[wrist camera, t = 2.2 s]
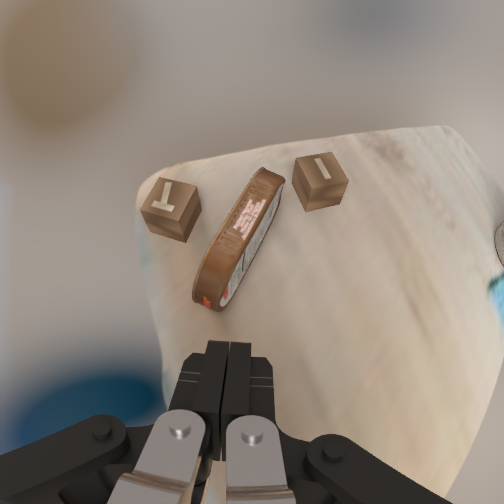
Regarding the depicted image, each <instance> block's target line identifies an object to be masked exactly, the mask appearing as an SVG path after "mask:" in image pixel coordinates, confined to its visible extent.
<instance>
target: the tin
mask: <svg viewBox="0 0 504 504" xmlns="http://www.w3.org/2000/svg"><path fill="white" fill-rule="evenodd" d="M284 183H285V178H284V177H282V176H280V175H278V174H276V173H273V172H271V171H268V170H266V169H265V168H264V167H261V168H260V169H259V170H258V171H257V172H256V173H255V174H254V175H253V177H252V178H251V180H250V181H249V183H248V185H247V186H246V188H245V189H244V191H243V192H242V194H241V196H240V197H239V199H238V200H237V202H236V204H235V205H234V207H233V208H232V210H231V212H230V213H229V215H228V216H227V218H226V220H225V221H224V223H223V224H222V226H221V228H220V229H219V231H218V232H217V234H216V236H215V237H214V239H213V241H212V242H211V244H210V246H209V248H208V250H207V252H206V254H205V256H204V258H203V260H202V262H201V265H200V267H199V270H198V272H197V275H196V278H195V281H194V285H193V291H192V299H193V301H194V302H195V303H200V304H202V305H204V306H206V307H207V308H209V309H212V310H214V311H222V310H223V309H224V308H225V307H226V306H227V304H228V303H229V301H230V300H231V298H232V297H233V295H234V293H235V291H236V290H237V288H238V286H239V284H240V282H241V280H242V279H243V277H244V275H245V273H246V271H247V269H248V268H249V266H250V264H251V262H252V260H253V259H254V257H255V255H256V253H257V251H258V249H259V247H260V245H261V243H262V241H263V239H264V237H265V235H266V233H267V231H268V229H269V227H270V225H271V223H272V221H273V218H274V216H275V214H276V211H277V209H278V206H279V203H280V199H281V192H282V188H283V185H284Z"/></svg>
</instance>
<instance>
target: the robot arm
mask: <svg viewBox="0 0 504 504" xmlns="http://www.w3.org/2000/svg"><path fill="white" fill-rule="evenodd" d="M495 245H496V250H497V252H498V255H499V258H500V260H501V262H502V263H503V265H504V222H503V223H502V224H501V225H500V226H499V227H498V229H497V231H496V233H495ZM229 347H230V351H229ZM221 447H222V461H226V504H452V503H451V502H449V501H447V500H445V499H444V498H442V497H440V496H438V495H437V494H435V493H433V492H431V491H430V490H428V489H426V488H425V487H423V486H421V485H419V484H418V483H416V482H414V481H413V480H411V479H410V478H408V477H406V476H405V475H403V474H401V473H400V472H398V471H397V470H395V469H393V468H392V467H390V466H389V465H387V464H386V463H384V462H383V461H381V460H379V459H378V458H376V457H375V456H373V455H372V454H370V453H369V452H367V451H366V450H364V449H363V448H361V447H360V446H359V445H357V444H356V443H354V442H353V441H351V440H350V439H348V438H346V437H344V436H341V435H336V434H327V435H322V436H319V437H317V438H315V439H314V440H312V441H311V442H307V441H303V440H298V439H295V438H292V437H290V436H288V435H286V434H285V433H283V432H282V431H281V430H280V429H279V427H278V426H277V424H276V421H275V406H274V388H273V369H272V366H271V364H270V363H269V361H268V360H267V359H266V358H265V357H251V343H244V342H231V344H230V345H229V342H226V341H212V340H209V341H208V344H207V348H206V352H205V354H201V353H192V354H191V355H190V356H189V357H188V358H187V359H186V360H185V361H184V363H183V366H182V369H181V373H180V375H179V378H178V381H177V385H176V388H175V391H174V394H173V397H172V400H171V403H170V406H169V410H168V412H165V413H164V414H162V415H161V416H159V418H158V419H157V420H156V422H155V424H152V425H149V426H143V427H128V428H126V427H125V425H124V423H123V422H122V421H120V419H118V418H116V417H114V416H111V415H105V414H101V415H95V416H92V417H90V418H88V419H85V420H83V421H81V422H79V423H77V424H74V425H72V426H70V427H68V428H66V429H63V430H61V431H59V432H56V433H54V434H52V435H50V436H47V437H45V438H43V439H40V440H38V441H35V442H33V443H31V444H28V445H26V446H23V447H21V448H18V449H16V450H13V451H11V452H8V453H5V454H3V455H0V504H204V500H205V496H206V492H207V488H208V484H209V475H210V472H211V466H212V460H215V461H220V455H221Z"/></svg>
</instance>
